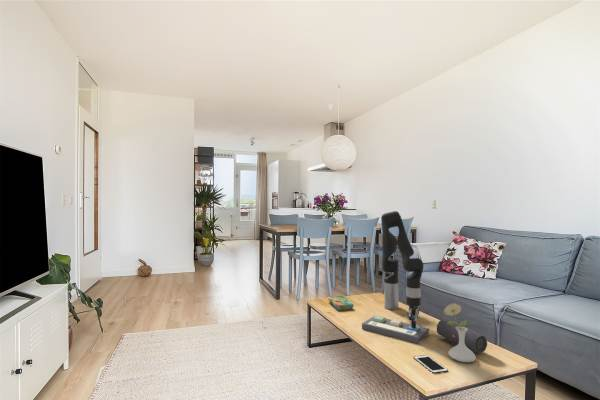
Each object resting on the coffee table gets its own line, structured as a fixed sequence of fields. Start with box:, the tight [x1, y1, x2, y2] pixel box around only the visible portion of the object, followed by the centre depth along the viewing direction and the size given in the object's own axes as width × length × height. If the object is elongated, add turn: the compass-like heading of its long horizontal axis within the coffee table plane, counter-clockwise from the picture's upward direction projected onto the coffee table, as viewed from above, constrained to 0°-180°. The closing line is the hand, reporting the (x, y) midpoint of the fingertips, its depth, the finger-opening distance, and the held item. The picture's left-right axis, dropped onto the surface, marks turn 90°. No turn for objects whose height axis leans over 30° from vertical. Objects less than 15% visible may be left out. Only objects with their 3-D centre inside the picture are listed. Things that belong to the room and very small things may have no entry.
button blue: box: [408, 325, 420, 332], centre depth 175 cm, size 5×5×4 cm
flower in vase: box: [443, 303, 477, 363], centre depth 148 cm, size 13×11×25 cm
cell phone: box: [413, 354, 449, 374], centre depth 143 cm, size 8×15×1 cm, turn 14°
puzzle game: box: [327, 295, 355, 311], centre depth 226 cm, size 12×5×20 cm
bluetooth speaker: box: [436, 319, 488, 354], centre depth 161 cm, size 23×9×10 cm, turn 23°
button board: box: [361, 315, 430, 345], centre depth 180 cm, size 16×32×4 cm, turn 51°
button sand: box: [390, 318, 403, 327], centre depth 181 cm, size 5×5×4 cm
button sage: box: [374, 315, 386, 323], centre depth 188 cm, size 5×5×4 cm
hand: (413, 327), depth 175 cm, fingers closed
